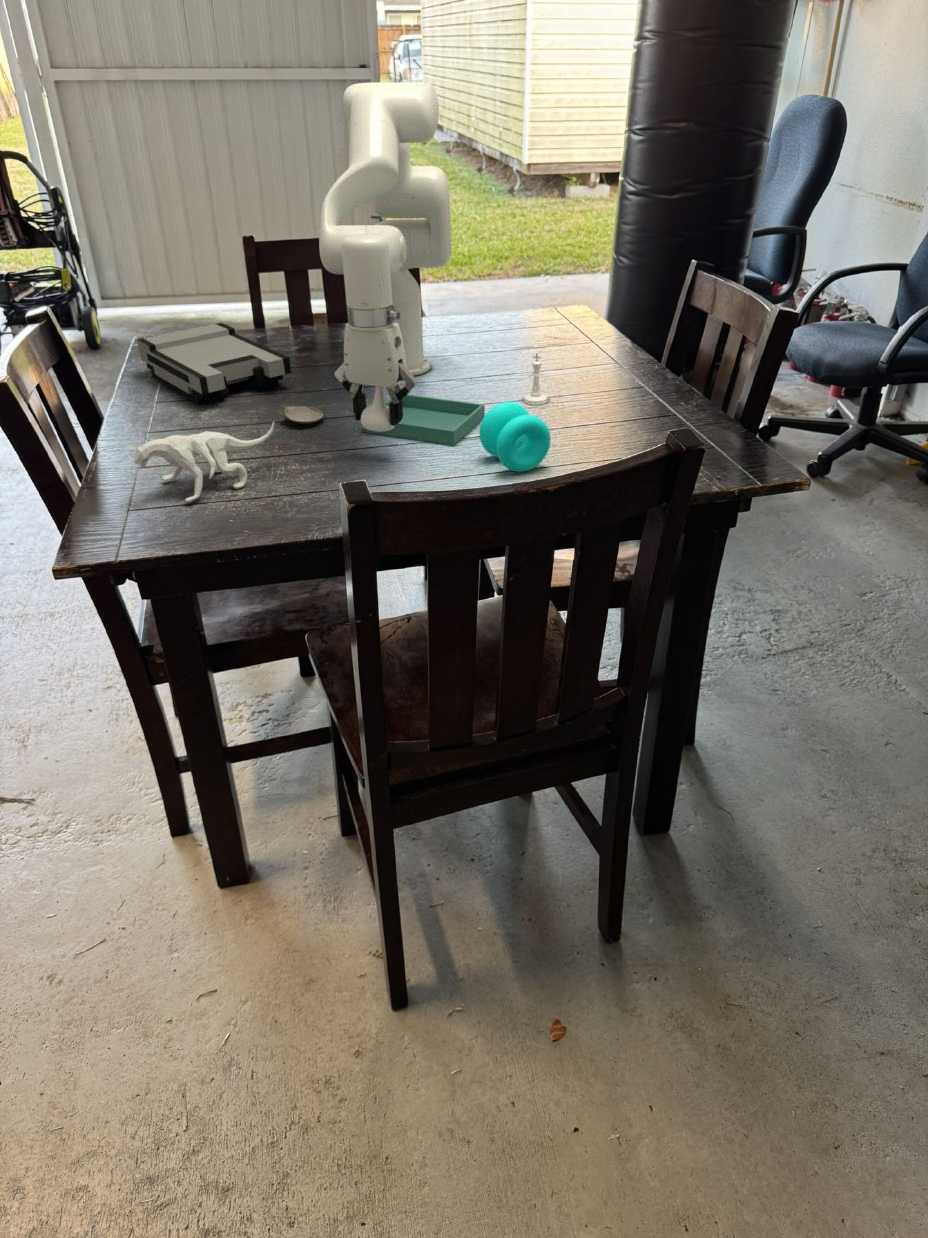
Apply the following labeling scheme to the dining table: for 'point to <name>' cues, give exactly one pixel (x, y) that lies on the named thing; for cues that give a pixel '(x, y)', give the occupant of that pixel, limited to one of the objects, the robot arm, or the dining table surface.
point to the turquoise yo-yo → (514, 436)
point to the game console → (211, 362)
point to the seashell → (302, 414)
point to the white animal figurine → (205, 444)
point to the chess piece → (536, 385)
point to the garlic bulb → (377, 414)
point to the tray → (435, 419)
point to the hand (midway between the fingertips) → (378, 419)
